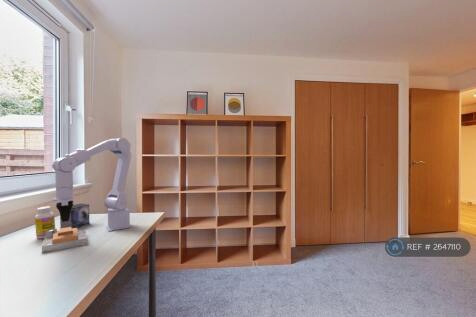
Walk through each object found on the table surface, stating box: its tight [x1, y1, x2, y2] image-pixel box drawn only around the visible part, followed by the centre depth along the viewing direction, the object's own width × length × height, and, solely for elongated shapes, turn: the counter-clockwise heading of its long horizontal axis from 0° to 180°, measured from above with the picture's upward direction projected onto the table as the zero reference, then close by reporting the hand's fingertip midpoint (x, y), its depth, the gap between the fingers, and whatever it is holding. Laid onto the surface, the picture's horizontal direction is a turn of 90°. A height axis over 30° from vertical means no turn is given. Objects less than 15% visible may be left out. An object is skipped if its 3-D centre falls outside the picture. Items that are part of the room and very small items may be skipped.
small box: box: [71, 203, 90, 229], centre depth 119 cm, size 11×6×10 cm, turn 162°
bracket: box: [52, 226, 78, 244], centre depth 99 cm, size 8×18×2 cm, turn 36°
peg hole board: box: [41, 228, 88, 254], centre depth 96 cm, size 14×14×5 cm
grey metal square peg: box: [59, 212, 71, 228], centre depth 96 cm, size 4×4×8 cm
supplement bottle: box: [34, 205, 56, 239], centre depth 104 cm, size 7×7×13 cm
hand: (65, 220), depth 96 cm, fingers closed on grey metal square peg, 3 cm apart
